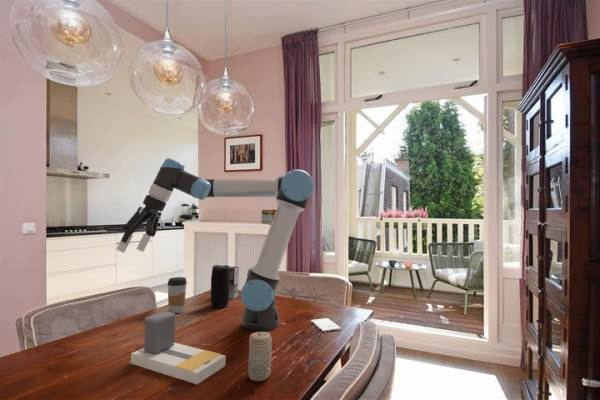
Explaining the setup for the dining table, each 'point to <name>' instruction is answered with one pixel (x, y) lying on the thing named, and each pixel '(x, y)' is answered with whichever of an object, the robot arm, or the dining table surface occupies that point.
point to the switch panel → (181, 362)
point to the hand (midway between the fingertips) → (130, 250)
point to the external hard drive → (325, 324)
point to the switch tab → (159, 332)
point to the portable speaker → (220, 286)
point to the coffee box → (233, 282)
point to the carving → (259, 356)
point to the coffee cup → (176, 294)
